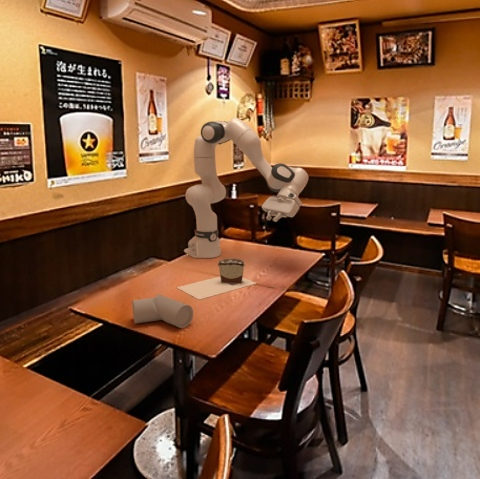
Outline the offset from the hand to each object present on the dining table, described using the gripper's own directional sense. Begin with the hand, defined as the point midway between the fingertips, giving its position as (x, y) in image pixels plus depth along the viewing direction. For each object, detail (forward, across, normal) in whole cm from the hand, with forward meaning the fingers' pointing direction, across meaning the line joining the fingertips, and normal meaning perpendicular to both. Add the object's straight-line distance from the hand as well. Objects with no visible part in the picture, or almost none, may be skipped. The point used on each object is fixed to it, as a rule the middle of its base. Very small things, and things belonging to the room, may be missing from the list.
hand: (271, 220), depth 215 cm
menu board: (+40, 0, -5) cm, 41 cm away
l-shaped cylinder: (+67, +19, -31) cm, 76 cm away
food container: (+34, 0, +2) cm, 34 cm away
